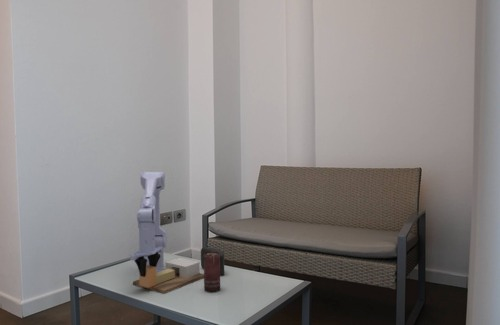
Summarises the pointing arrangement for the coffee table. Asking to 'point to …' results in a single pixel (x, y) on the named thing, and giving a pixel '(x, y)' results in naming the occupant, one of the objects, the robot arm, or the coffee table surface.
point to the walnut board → (172, 283)
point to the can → (211, 271)
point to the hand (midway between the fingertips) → (147, 274)
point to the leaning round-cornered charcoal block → (205, 250)
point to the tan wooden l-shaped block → (155, 276)
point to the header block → (184, 267)
